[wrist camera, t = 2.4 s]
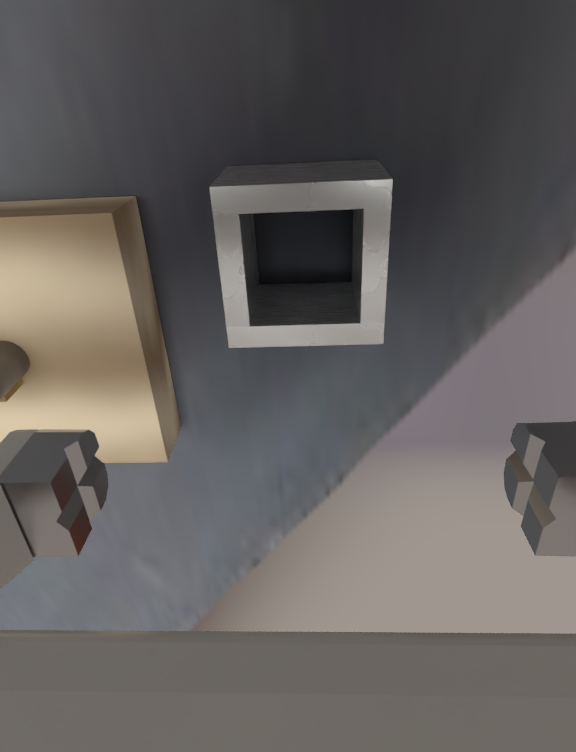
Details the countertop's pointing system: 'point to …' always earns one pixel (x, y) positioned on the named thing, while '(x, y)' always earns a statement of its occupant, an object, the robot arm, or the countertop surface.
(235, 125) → the countertop surface
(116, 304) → the shaft stand
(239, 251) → the silver square ring
